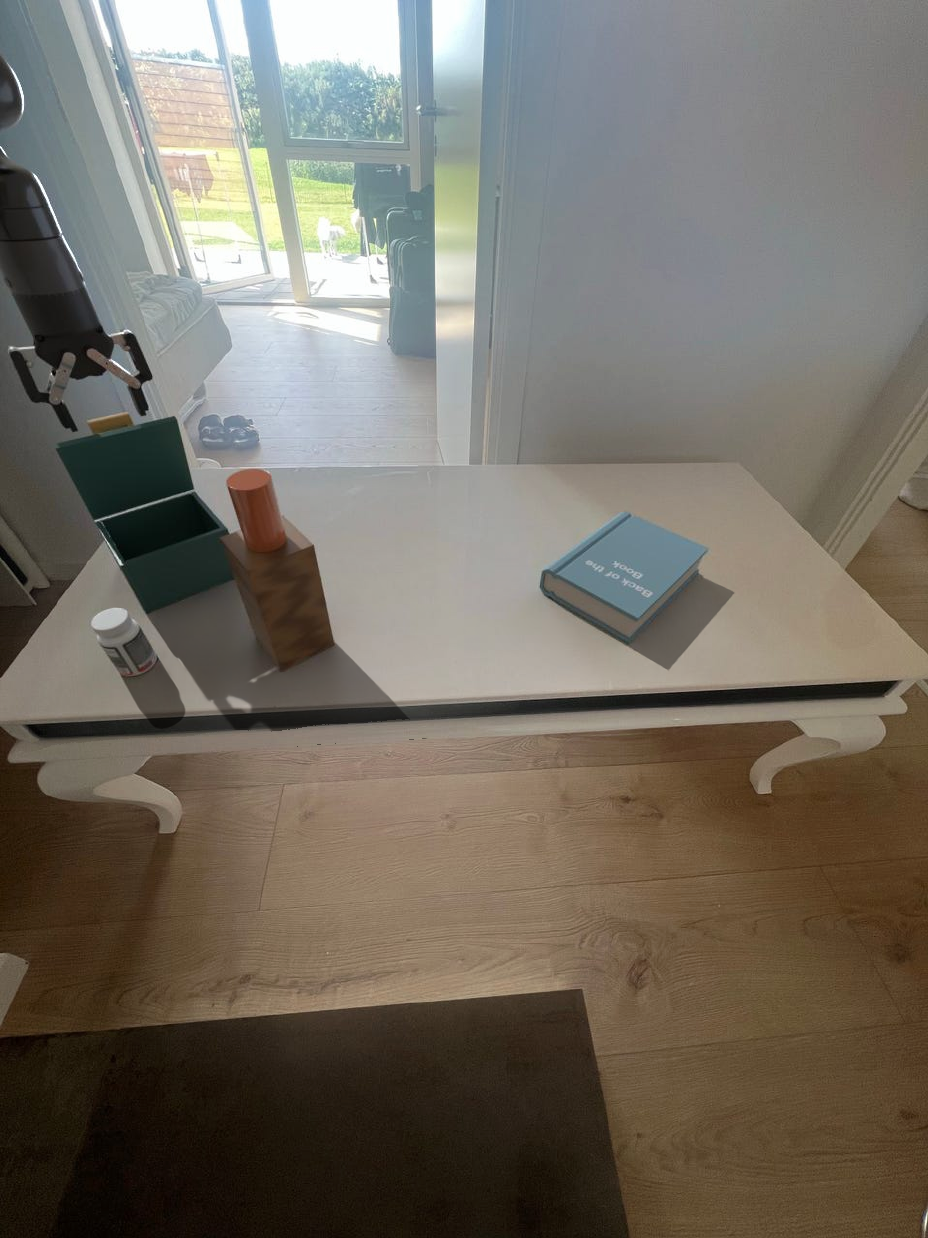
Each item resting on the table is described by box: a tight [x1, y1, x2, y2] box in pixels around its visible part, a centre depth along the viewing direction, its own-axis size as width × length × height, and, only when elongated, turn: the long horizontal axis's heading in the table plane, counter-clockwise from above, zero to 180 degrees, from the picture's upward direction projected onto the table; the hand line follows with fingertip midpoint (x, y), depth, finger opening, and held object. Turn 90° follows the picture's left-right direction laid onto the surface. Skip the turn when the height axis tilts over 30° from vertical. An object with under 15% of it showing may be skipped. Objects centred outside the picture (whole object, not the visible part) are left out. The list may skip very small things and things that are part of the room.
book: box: [538, 510, 709, 644], centre depth 82 cm, size 23×16×5 cm
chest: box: [93, 490, 235, 615], centre depth 80 cm, size 14×15×9 cm
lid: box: [52, 411, 195, 521], centre depth 74 cm, size 14×15×5 cm
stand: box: [220, 514, 335, 673], centre depth 67 cm, size 8×8×17 cm
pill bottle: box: [90, 607, 158, 677], centre depth 66 cm, size 5×5×8 cm
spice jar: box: [225, 468, 287, 553], centre depth 58 cm, size 5×5×8 cm
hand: (109, 421), depth 71 cm, fingers open, 8 cm apart
